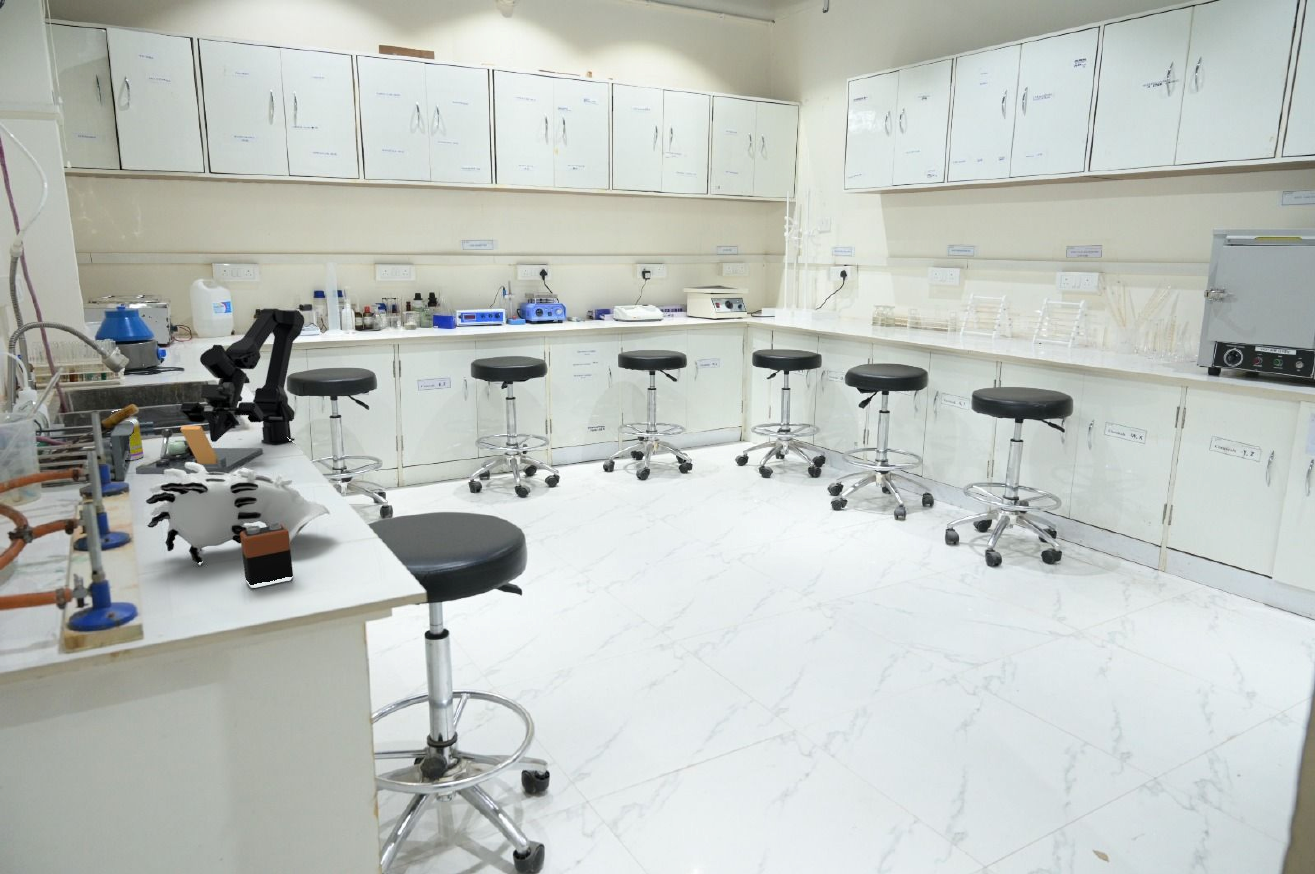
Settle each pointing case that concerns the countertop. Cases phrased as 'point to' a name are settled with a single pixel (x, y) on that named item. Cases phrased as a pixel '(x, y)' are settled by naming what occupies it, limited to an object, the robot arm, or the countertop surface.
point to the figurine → (226, 506)
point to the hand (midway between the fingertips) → (213, 441)
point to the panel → (226, 460)
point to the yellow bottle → (135, 440)
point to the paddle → (200, 446)
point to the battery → (266, 553)
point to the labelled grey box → (184, 442)
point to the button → (176, 447)
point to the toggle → (165, 441)
